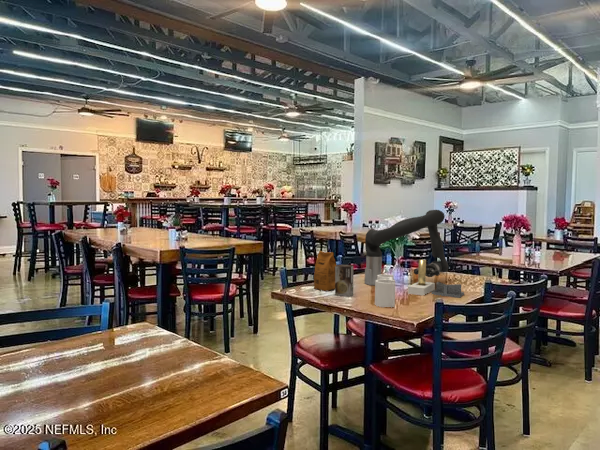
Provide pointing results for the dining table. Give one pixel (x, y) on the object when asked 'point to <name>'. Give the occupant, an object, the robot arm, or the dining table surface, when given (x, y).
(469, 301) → the dining table surface
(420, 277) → the axle
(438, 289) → the v block
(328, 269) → the coffee package
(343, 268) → the coffee box
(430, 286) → the grey recessed block
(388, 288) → the grey jar set
